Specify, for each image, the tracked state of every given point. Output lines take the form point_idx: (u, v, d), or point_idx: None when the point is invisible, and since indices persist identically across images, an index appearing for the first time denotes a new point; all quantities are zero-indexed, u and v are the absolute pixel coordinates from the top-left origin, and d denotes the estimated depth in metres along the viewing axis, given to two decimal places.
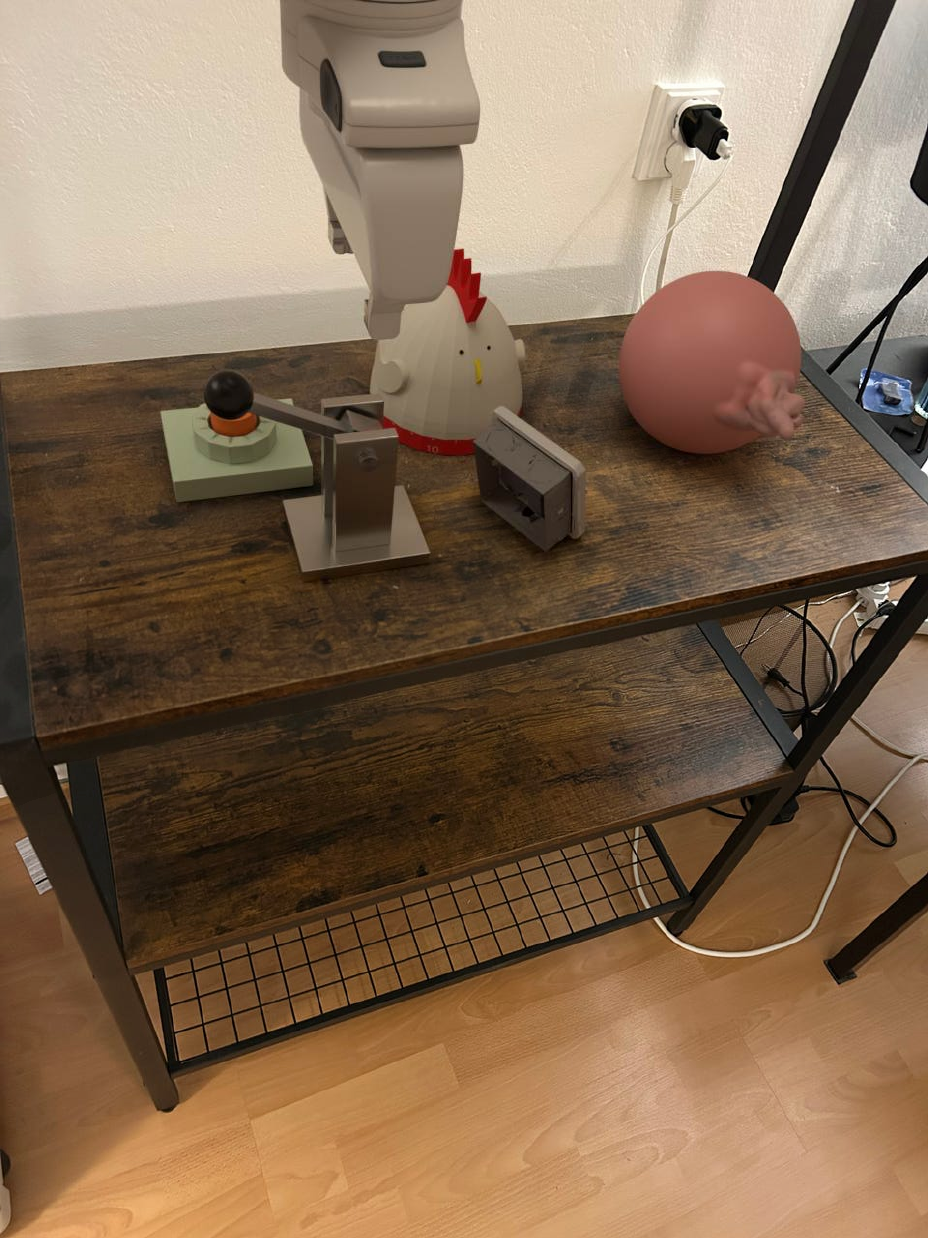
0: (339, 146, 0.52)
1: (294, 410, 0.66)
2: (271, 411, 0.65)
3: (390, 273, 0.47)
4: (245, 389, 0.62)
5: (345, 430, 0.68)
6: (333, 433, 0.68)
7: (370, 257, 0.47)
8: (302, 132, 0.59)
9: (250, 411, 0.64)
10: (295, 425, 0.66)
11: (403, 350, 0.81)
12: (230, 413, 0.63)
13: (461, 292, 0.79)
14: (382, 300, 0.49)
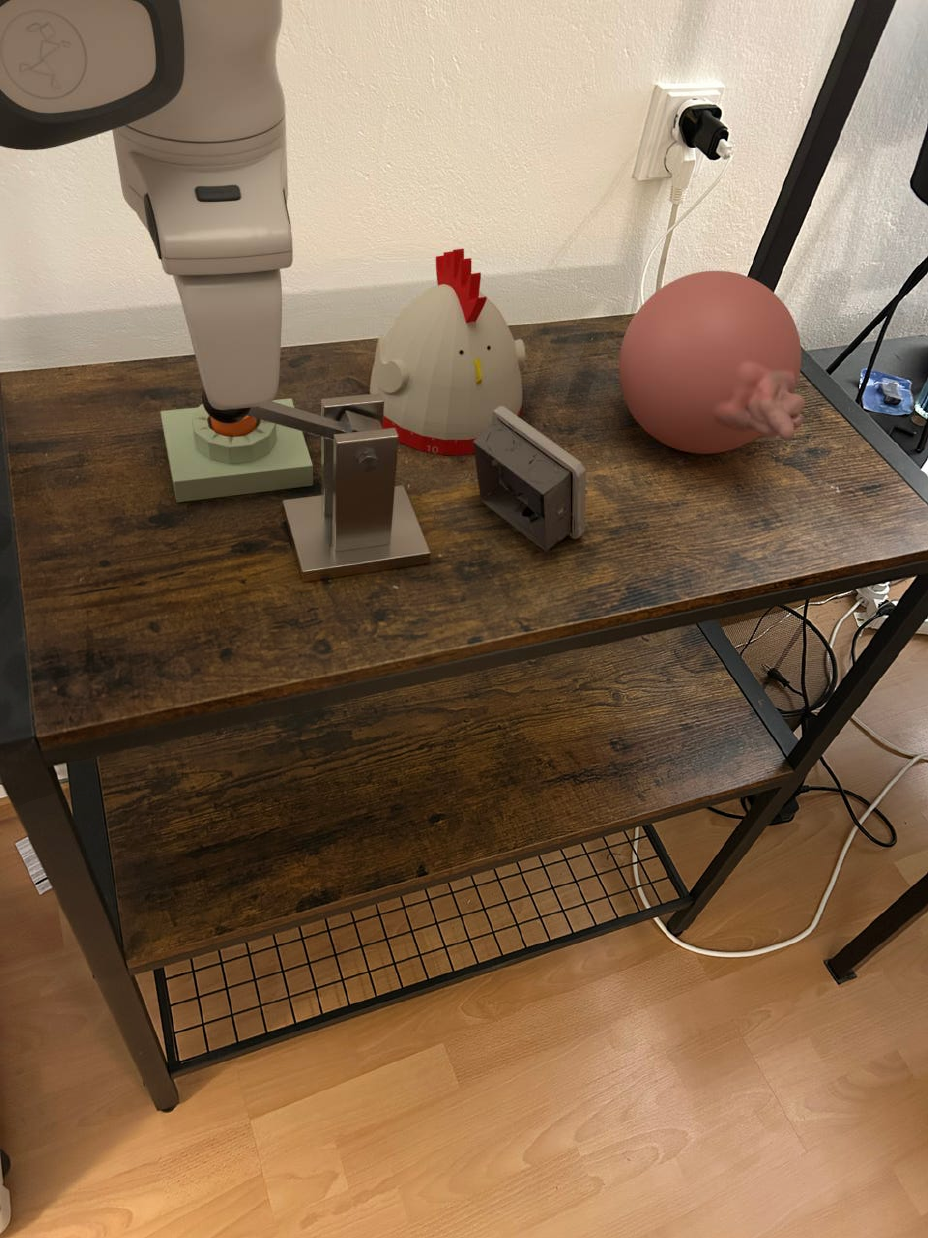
0: None
1: (293, 412, 0.66)
2: (270, 413, 0.65)
3: (219, 384, 0.51)
4: None
5: (345, 430, 0.68)
6: (333, 434, 0.68)
7: (199, 370, 0.51)
8: None
9: (249, 414, 0.64)
10: (294, 427, 0.66)
11: (403, 350, 0.81)
12: (228, 417, 0.63)
13: (461, 292, 0.79)
14: (216, 406, 0.52)
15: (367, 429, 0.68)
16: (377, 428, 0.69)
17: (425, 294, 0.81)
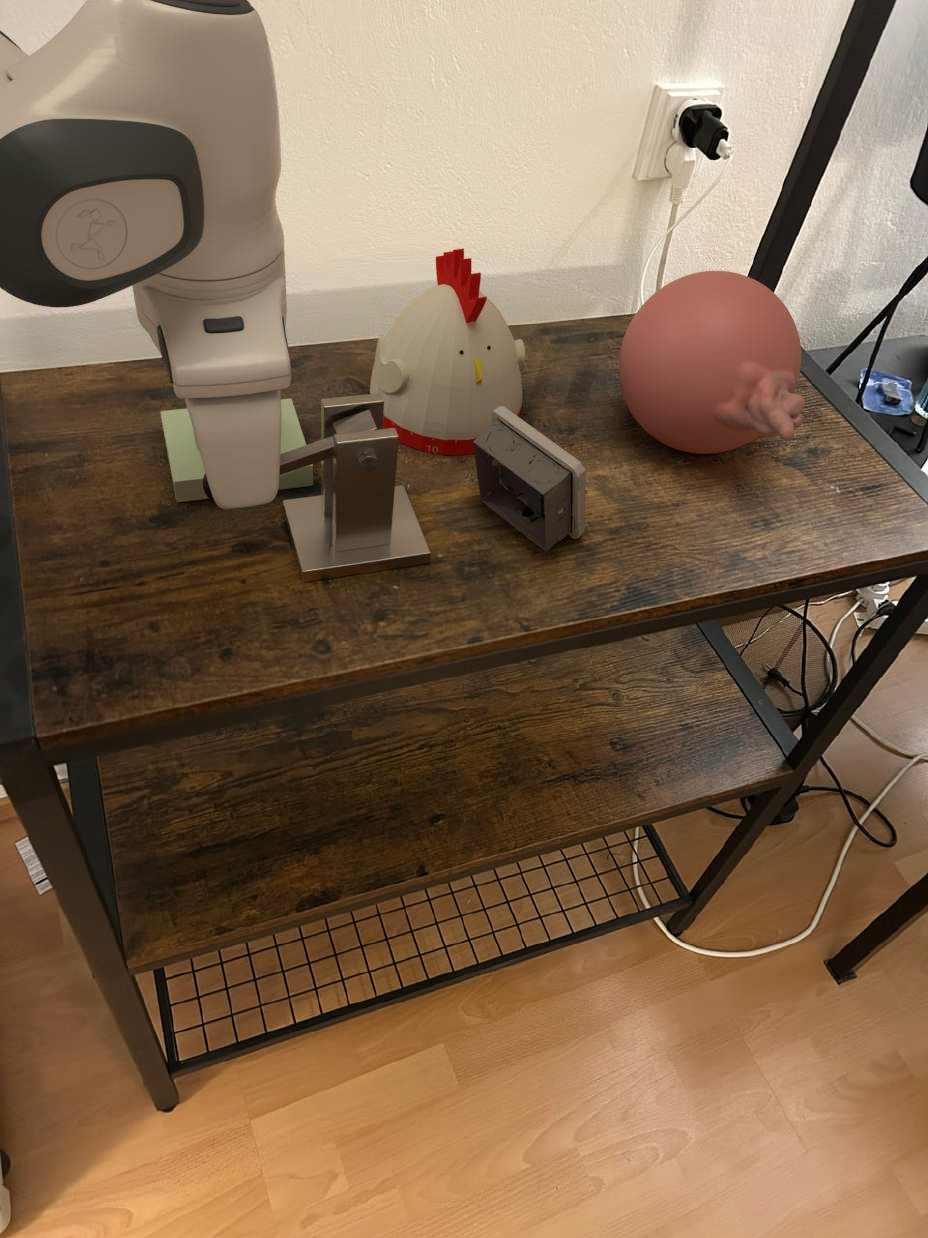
0: None
1: (284, 458, 0.69)
2: None
3: (224, 489, 0.56)
4: None
5: None
6: (330, 452, 0.69)
7: (207, 477, 0.56)
8: None
9: None
10: (294, 469, 0.69)
11: (403, 350, 0.81)
12: None
13: (461, 292, 0.79)
14: (222, 507, 0.58)
15: (355, 430, 0.68)
16: (366, 421, 0.68)
17: (425, 294, 0.81)
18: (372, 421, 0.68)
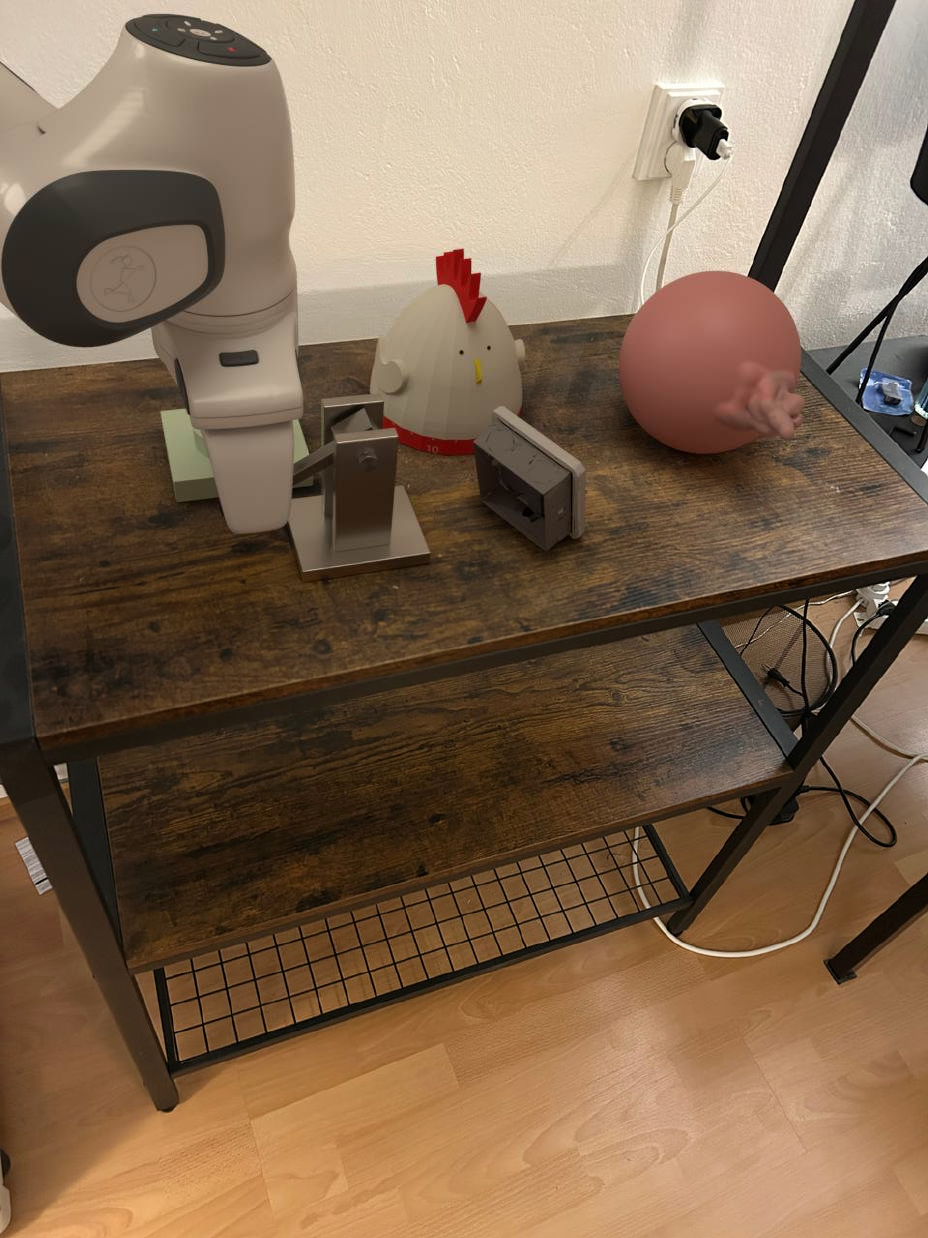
0: None
1: None
2: None
3: (238, 516, 0.58)
4: None
5: None
6: None
7: (221, 504, 0.58)
8: None
9: None
10: (302, 479, 0.70)
11: (403, 351, 0.81)
12: None
13: (461, 292, 0.79)
14: (235, 532, 0.59)
15: (351, 432, 0.68)
16: (361, 421, 0.68)
17: (425, 294, 0.81)
18: (367, 420, 0.68)
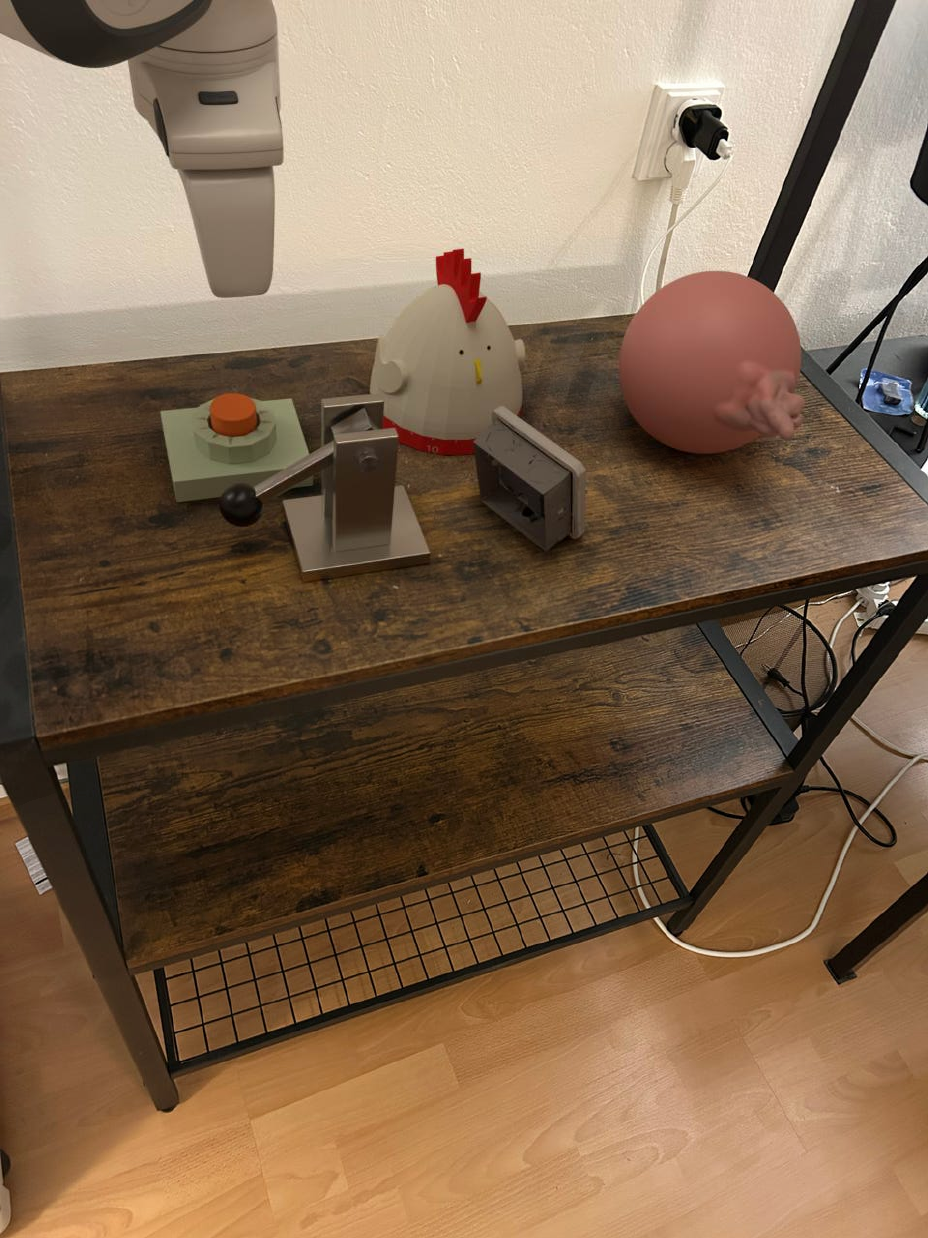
0: None
1: (291, 471, 0.70)
2: (275, 489, 0.70)
3: (219, 271, 0.58)
4: (238, 499, 0.69)
5: None
6: None
7: (202, 258, 0.57)
8: None
9: (263, 502, 0.70)
10: (302, 479, 0.70)
11: (403, 350, 0.81)
12: (247, 522, 0.70)
13: (461, 292, 0.79)
14: (217, 293, 0.59)
15: (351, 432, 0.68)
16: (361, 421, 0.68)
17: (425, 294, 0.81)
18: (367, 420, 0.68)
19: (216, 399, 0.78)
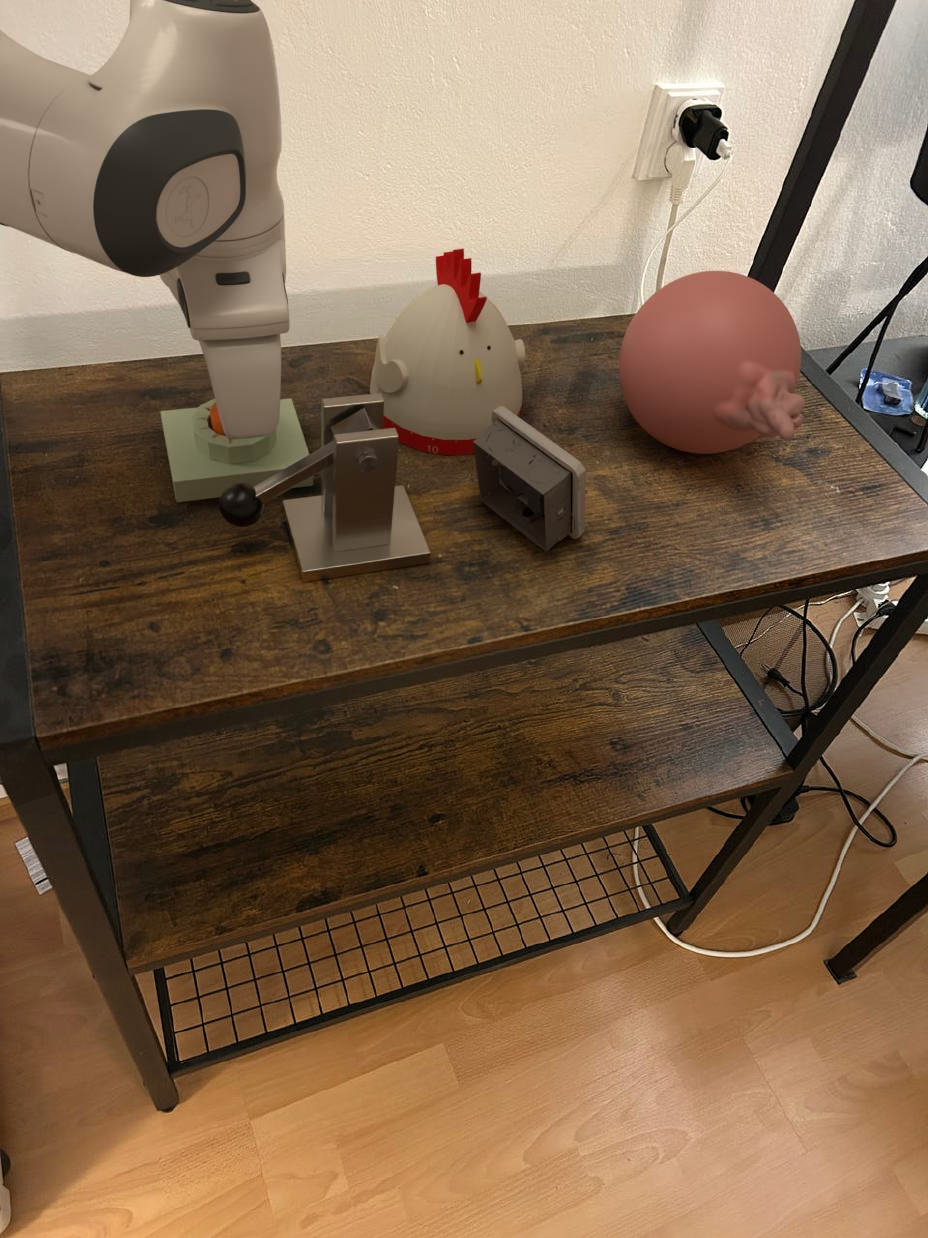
0: None
1: (291, 471, 0.70)
2: (275, 489, 0.70)
3: (232, 420, 0.66)
4: (238, 499, 0.69)
5: None
6: None
7: (218, 409, 0.66)
8: None
9: (263, 502, 0.70)
10: (302, 479, 0.70)
11: (403, 350, 0.81)
12: (247, 522, 0.70)
13: (461, 292, 0.79)
14: (230, 437, 0.68)
15: (351, 432, 0.68)
16: (361, 421, 0.68)
17: (425, 294, 0.81)
18: (367, 420, 0.68)
19: None
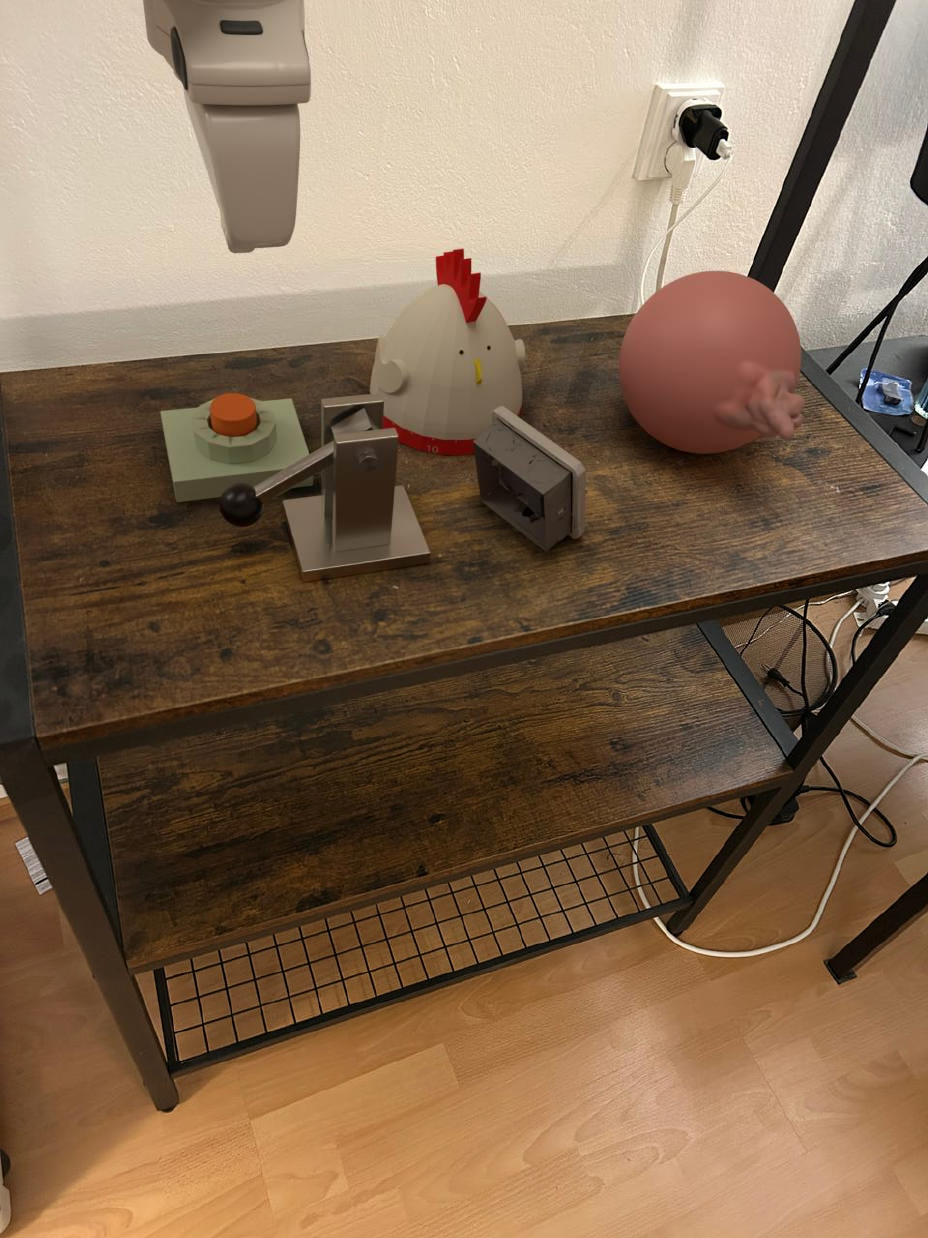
0: None
1: (291, 471, 0.70)
2: (275, 489, 0.70)
3: (239, 218, 0.54)
4: (238, 499, 0.69)
5: None
6: None
7: (221, 203, 0.53)
8: (185, 101, 0.65)
9: (263, 502, 0.70)
10: (302, 479, 0.70)
11: (403, 351, 0.81)
12: (247, 522, 0.70)
13: (461, 292, 0.79)
14: (235, 243, 0.55)
15: (351, 432, 0.68)
16: (361, 421, 0.68)
17: (425, 294, 0.81)
18: (367, 420, 0.68)
19: (216, 399, 0.78)
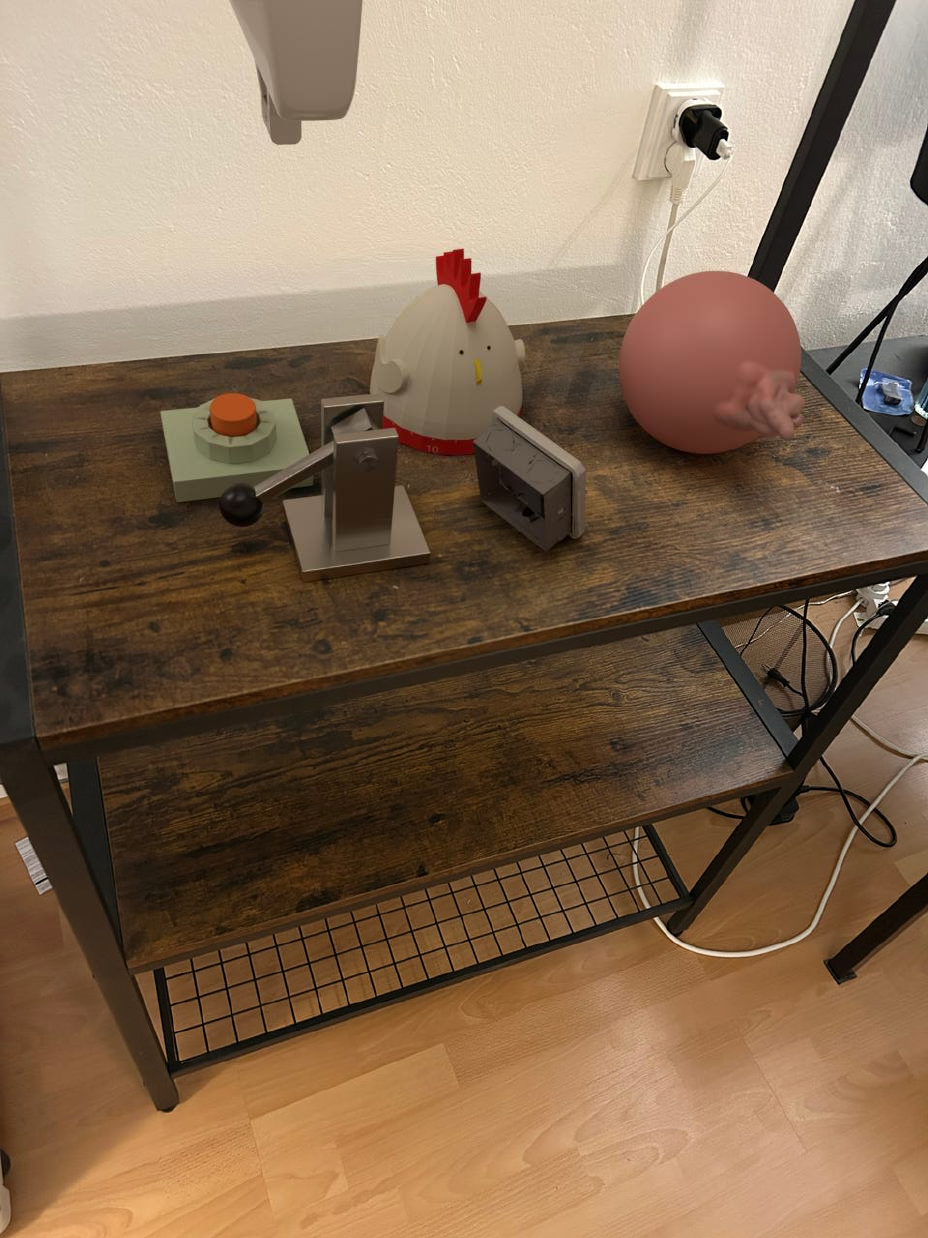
0: None
1: (291, 471, 0.70)
2: (275, 489, 0.70)
3: (290, 79, 0.45)
4: (238, 499, 0.69)
5: None
6: None
7: (269, 61, 0.45)
8: None
9: (263, 502, 0.70)
10: (302, 479, 0.70)
11: (403, 351, 0.81)
12: (247, 522, 0.70)
13: (461, 292, 0.79)
14: (285, 112, 0.47)
15: (351, 432, 0.68)
16: (361, 421, 0.68)
17: (425, 294, 0.81)
18: (367, 420, 0.68)
19: (216, 399, 0.78)
